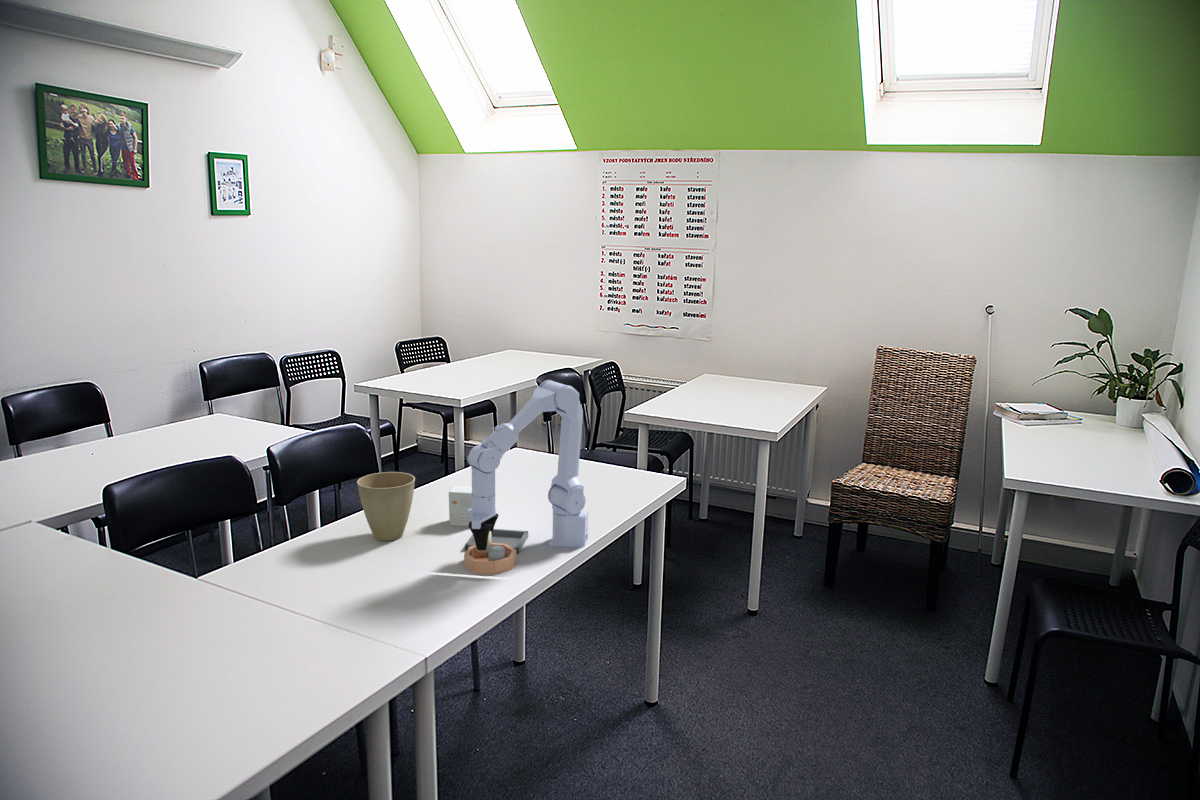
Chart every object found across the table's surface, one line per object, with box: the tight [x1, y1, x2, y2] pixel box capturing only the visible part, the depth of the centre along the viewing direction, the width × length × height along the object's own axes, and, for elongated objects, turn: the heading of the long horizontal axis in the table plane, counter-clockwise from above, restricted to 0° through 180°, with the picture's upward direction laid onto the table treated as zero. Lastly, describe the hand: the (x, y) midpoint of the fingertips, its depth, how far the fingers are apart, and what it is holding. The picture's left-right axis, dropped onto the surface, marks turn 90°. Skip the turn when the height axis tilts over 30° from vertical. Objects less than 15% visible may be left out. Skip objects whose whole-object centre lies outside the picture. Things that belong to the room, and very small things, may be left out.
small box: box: [448, 485, 472, 527], centre depth 219 cm, size 8×6×10 cm
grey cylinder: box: [488, 545, 505, 561], centre depth 191 cm, size 4×4×4 cm
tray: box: [464, 528, 529, 555], centre depth 206 cm, size 14×12×2 cm
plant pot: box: [356, 471, 416, 542], centre depth 209 cm, size 15×15×16 cm
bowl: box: [463, 543, 517, 577], centre depth 193 cm, size 12×12×4 cm
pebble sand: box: [475, 531, 491, 553], centre depth 194 cm, size 4×4×4 cm
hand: (484, 546), depth 194 cm, fingers closed on pebble sand, 4 cm apart
